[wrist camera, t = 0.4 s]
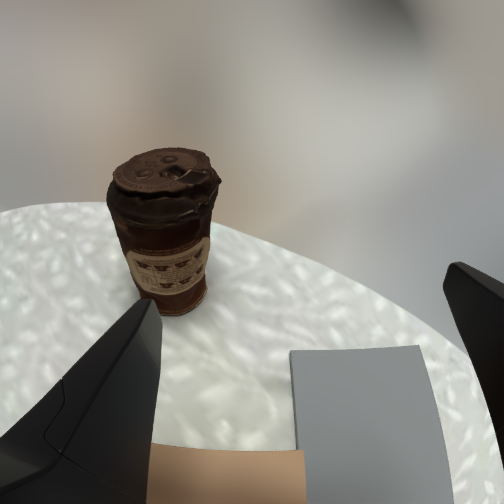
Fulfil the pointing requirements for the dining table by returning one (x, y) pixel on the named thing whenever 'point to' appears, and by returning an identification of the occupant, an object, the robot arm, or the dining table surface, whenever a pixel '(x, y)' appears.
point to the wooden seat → (225, 476)
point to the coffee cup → (165, 223)
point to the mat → (369, 427)
